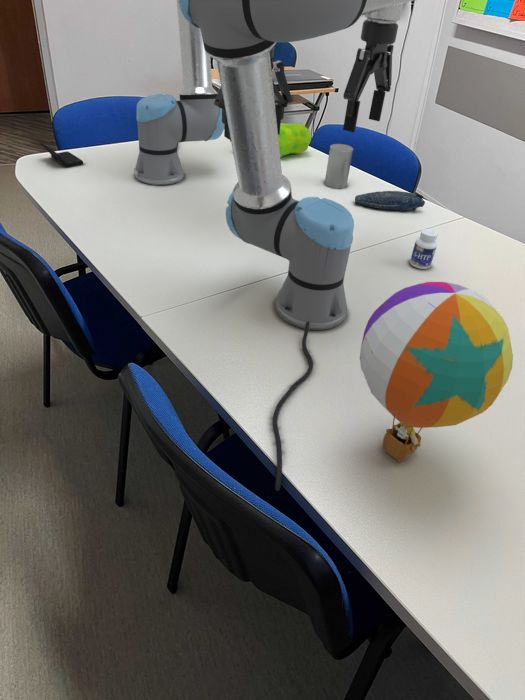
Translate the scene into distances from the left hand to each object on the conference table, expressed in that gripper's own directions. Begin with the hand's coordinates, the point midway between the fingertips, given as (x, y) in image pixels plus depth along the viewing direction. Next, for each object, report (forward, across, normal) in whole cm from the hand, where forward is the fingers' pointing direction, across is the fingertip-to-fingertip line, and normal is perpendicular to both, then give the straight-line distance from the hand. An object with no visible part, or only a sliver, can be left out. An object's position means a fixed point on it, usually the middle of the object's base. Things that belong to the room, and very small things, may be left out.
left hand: (252, 135), depth 130 cm
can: (+24, +42, +15) cm, 51 cm away
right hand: (-6, +20, -17) cm, 27 cm away
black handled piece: (+24, -35, +62) cm, 75 cm away
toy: (+24, -18, -82) cm, 87 cm away
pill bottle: (+24, +30, -38) cm, 53 cm away
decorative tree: (+24, +37, +48) cm, 65 cm away
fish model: (+24, +46, -6) cm, 52 cm away
